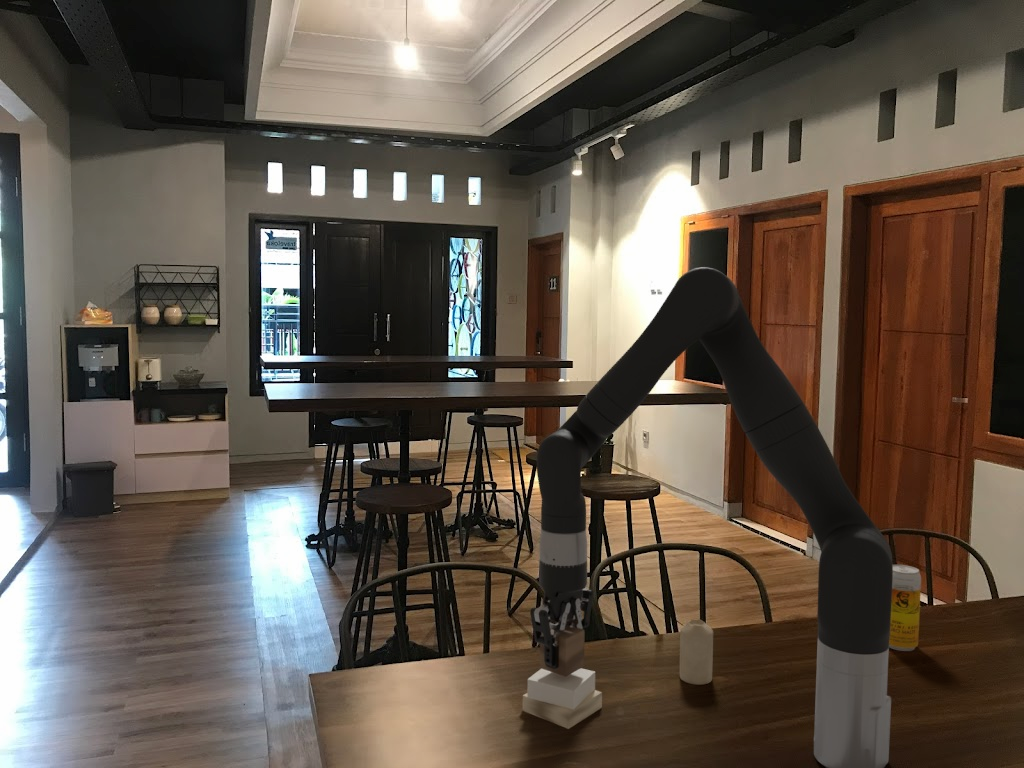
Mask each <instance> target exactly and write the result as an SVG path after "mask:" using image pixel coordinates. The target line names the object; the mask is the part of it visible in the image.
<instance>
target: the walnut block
mask: <svg viewBox="0 0 1024 768" xmlns="http://www.w3.org/2000/svg"><path fill="white" fill-rule="evenodd" d="M555 625H558V622H555ZM541 635H543V633H542V632H541ZM553 635H554V630H553V629H551V637H553ZM558 646H559V666H558V668H556V669H552V668H549V667H547V666H546V665H545V662H544V656H545V655H544V644H540V643H539V669H541V668H542V669H544V670H547V671H550V672H553V673H556V674H559V675H562V676H565V677H566V676H568V675H570V674H571V673H573V672H575V671H577V670H579V669H580V668H582V669H583V668H584V667H585V629H584V628H583V629H580V628H575V627H574V626H570V625H565V629H564V631H563V632H561V635H560V637H559V644H558Z"/></svg>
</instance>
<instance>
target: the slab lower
mask: <svg viewBox="0 0 1024 768" xmlns="http://www.w3.org/2000/svg"><path fill="white" fill-rule="evenodd" d="M602 708H603V692H602V691H599V690H596V689H595V690H594V691H593V692H592V693H591V694H590V695H589V696H588V697H587V698H586V699H585V700H583V701H582V702H581V703H580V704H579V705H578V706H577V707H576V708H575V709H574V710H572V709H568V708H564V707H561V706H557V705H553V704H549V703H546V702H542V701H538V700H534V699H530V698H527V692H526V693H524V694H522V711H523V712H525V713H527V714H530V715H533V716H535V717H537V718H540V719H543V720H545V721H546V722H547V721H548V722H550V723H551V724H556V725H558V726H559V727H563V728H565V729H567V730H569V729H572V727H574V726H575V725H577V724H578V723H580V722H582V721H584V720H585V719H586V718H588V717H590V716H591V715H593V714H594V713H595V712H597V711H599V710H600V709H602Z"/></svg>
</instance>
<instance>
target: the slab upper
mask: <svg viewBox="0 0 1024 768" xmlns="http://www.w3.org/2000/svg"><path fill="white" fill-rule="evenodd" d="M594 690H596V671H594V670H589V669H585V668H583V667H582V668H580V669H579V670H577V671H575V672H573V673H571V674H570V675H568V676H566V677H565V676H562V675H559V674H556V673H553V672H550V671H547V670H544V669H542V668H539V670H538V671H536V672H535V673H534V674H532V675H531V676H530V677H528V678H527V692H526V693H527V698H530V699H534V700H538V701H542V702H546V703H549V704H553V705H557V706H561V707H564V708H568V709H572V710H574V709H575V708H576V707H577V706H578V705H579V704H580V703H581V702H582V701H583V700H585V699H586V698H587V697H588V696H589V695H590V694H591V693H592V692H593V691H594Z"/></svg>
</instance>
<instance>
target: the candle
mask: <svg viewBox="0 0 1024 768" xmlns="http://www.w3.org/2000/svg"><path fill="white" fill-rule="evenodd" d="M679 635H680V639H679V678H680V680H682V681H683V682H684V683H688V684H690V685H695V686H696V685H697V686H700V685H706V684H707V685H708V684H709V683H711V682H712V679H713V662H714V661H713V656H714V654H713V653H714V630H713V628H711V627H710V626H709V625H708V624H707V623H706V622H705V621H703V620H702V619H697V618H696V619H691V620H689V621H687V622H686V623H685V624H684V625H682V626H681V627H680V632H679Z"/></svg>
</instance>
